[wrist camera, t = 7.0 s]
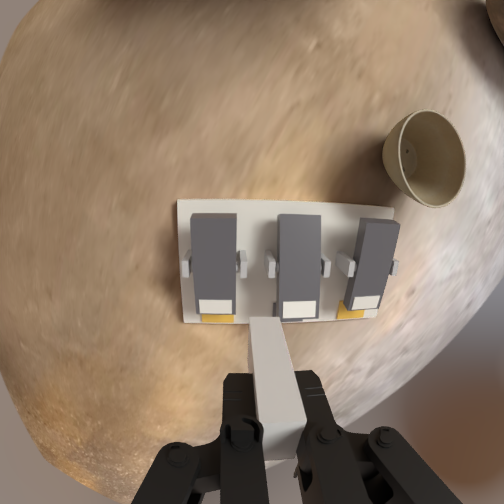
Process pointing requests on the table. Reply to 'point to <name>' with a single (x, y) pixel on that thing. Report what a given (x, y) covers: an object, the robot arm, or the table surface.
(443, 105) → the table surface
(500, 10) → the bowl
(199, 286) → the rocker
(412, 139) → the flower pot
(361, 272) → the rocker
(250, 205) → the switch unit
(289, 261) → the rocker
